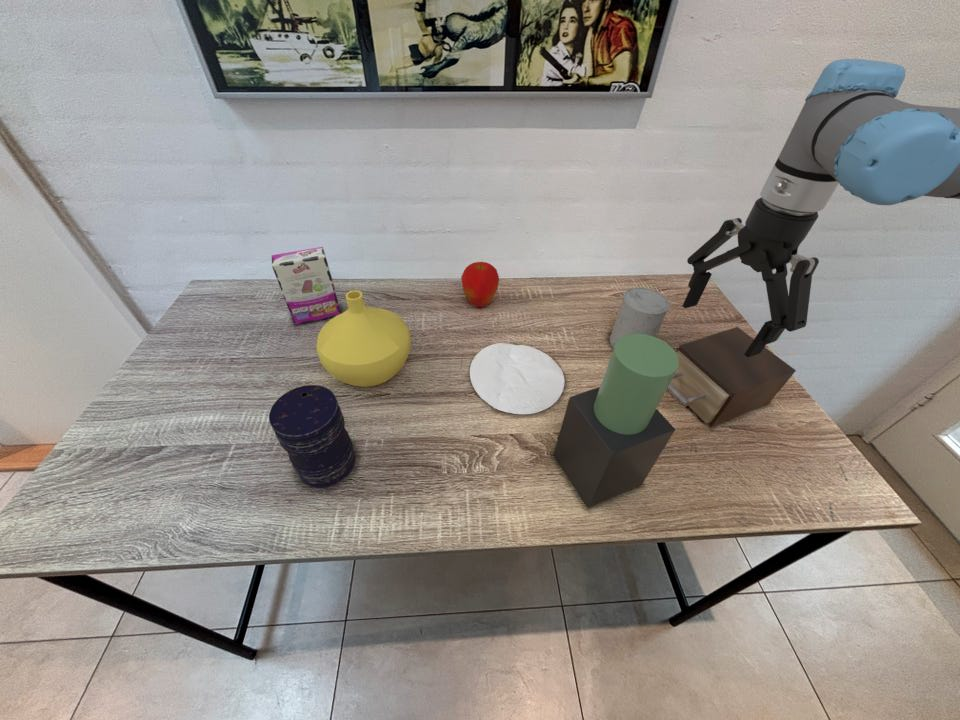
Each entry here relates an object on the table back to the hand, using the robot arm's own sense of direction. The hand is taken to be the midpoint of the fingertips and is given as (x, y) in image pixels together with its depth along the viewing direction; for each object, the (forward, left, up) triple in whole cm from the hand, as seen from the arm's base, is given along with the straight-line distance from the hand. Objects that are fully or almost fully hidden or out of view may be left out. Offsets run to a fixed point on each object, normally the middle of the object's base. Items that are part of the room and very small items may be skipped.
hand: (718, 328), depth 69 cm
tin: (-6, +24, -4) cm, 25 cm away
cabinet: (0, -10, -20) cm, 22 cm away
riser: (-6, +24, -20) cm, 32 cm away
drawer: (0, -6, -19) cm, 20 cm away
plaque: (+19, +27, -20) cm, 38 cm away
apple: (+46, +24, -20) cm, 55 cm away
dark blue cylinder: (+13, +67, -20) cm, 71 cm away
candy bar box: (+56, +63, -20) cm, 86 cm away
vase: (+33, +55, -20) cm, 67 cm away
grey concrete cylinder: (+19, -3, -20) cm, 28 cm away
